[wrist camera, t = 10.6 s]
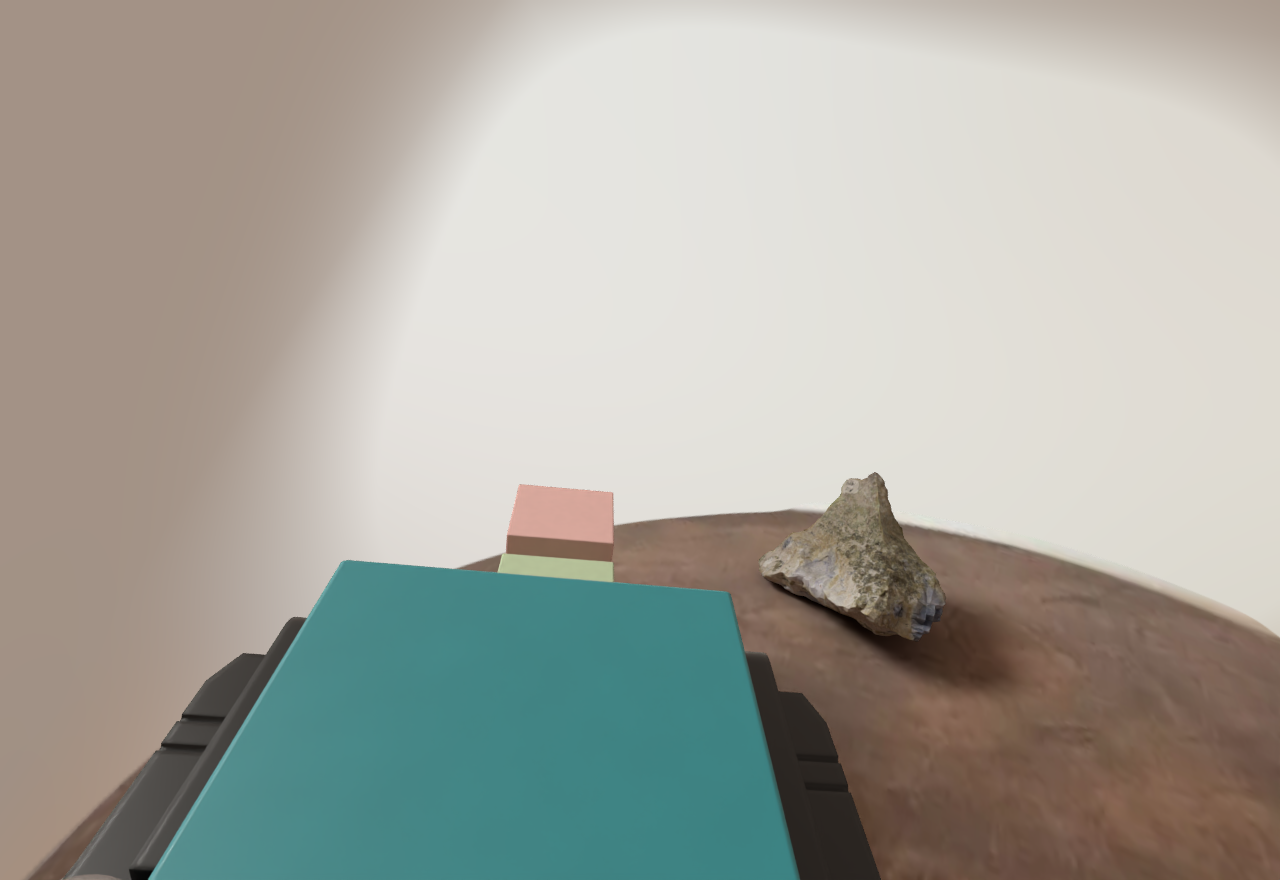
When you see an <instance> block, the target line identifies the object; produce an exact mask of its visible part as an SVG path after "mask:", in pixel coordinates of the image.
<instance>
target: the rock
mask: <svg viewBox="0 0 1280 880" xmlns="http://www.w3.org/2000/svg"><path fill="white" fill-rule="evenodd" d="M841 491H842V492H841V494H840V496H839V498H837V499H836V500H835V501H834V502H833V503H832V504H831V505H830V507H829V508H828V509H827V511H826V512H825V514H824V515H823V516H822V517H820V518H819V519H818V520H817V522H816V523H814V524H813V525H812V526H811V527H810V528H808V529H806V530H804V531H801V532H798V533H795V532H793V533H791V534H790V535H789V536H788V537H787V538H786V539H785V540H784V541H783V542H782V543H781V544H780V545H779V546H778V547H777V548H776V549H775V550H774V551H770V552H767V553H766V554H765V555H763V556H762V557H761V558H760V559H759V571H760V572H761V574H762V575H763V577H764V578H766V579H767V580H769V581H772V582H774V583H777V584H780V585H782V586H783V587H784V588H785V589H786V590H788V591H790V592H792V593H793V594H796V595H801V596H806V597H807V598H809V599H810V600H812V601H815V602H817V603H819V604H822V605H823V606H825V607H829V608H831V609H833V610H835V611H837V612H838V613H840V614H844V615H846V616H848V617H853V618H854V619H856V620H857V621H858V622H859V623H860V624H861V625H862V626H863V627H865V628H867V629H869V630H871V631H872V632H873V633H874V634H876V635H880V636H891V635H896V634H899V635H900V636H902V637H904V638H906V639H908V640H913V641H918V640H919V639H920V638H921V636H922V635H923V634H928V633H929V631H930V628H931V625H932V622H938V621H940V617H941V615H942V612H943V611H942V608H943V605H945V604H946V603H945V599H946V596H945V593H944V592H943V590H942V589H941V587H940V584H939V581H938V579H937V578H936V574H935V573H934V572H933V571H932V570H931V569H930V568H929V567H928V566H927V565H926V564H925V563H924V562H923V561H922V560H921V559H920V558H919V557H918V556H917V554H916V553H915V551H914V550H913V549H912V547H911V546H910V545H909V544H908V542H907V541H906V540H905V539H904V536H903V531H902V528H901V527H900V526H899V524H898V522H897V521H896V519H895V518H894V515H893V513H892V511H891V505H890V503H889V500H888V491H887V489H886V487H885V483H884V480H883V479H882V478H881V477H880V475H879V474H878V473H876V472H874V473H873V474H871V475H869V476H868V478H866V479H863V480H860V479H852V478H851V479H849V480H846V482H845V483H844V484H843V486H842V489H841Z"/></svg>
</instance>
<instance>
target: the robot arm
mask: <svg viewBox="0 0 1280 880" xmlns="http://www.w3.org/2000/svg"><path fill="white" fill-rule="evenodd" d="M306 619H307V618H302V617H293V618H291V619H290V620H289V621H288V622H287V623H286V624H285V626H284V627H283V629H282V630H281V632H280V633H279V635H278V637H277V638H276V640H275V641H274V643H273V645H272V646H271V648H270V649H269V651H268V652H267V654H266V655H261V654H246V653H243V654H242V655H240V656H239V657H237V658H236V659H234V660H233V661H232V662H230V663H229V664H228V665H227V666H225V667H224V668H222V669H221V670H220V671H218V672H217V673H216V674H214V675H213V676H212V677H210V678H209V679H208V680H206V681H205V683H204V684H203V686H202V687H201V688H200V690H199V691H198V693H197V694H196V695H195V697H194V698H193V700H192V701H191V703H190V704H189V705H188V707H187V708H186V710H185V711H184V712H183V714H182V718H181V720H180V721H177V722H176V723H175V725H174V726H173V727H172V729H171V730H170V732H169V733H168V734H167V736H166V737H165V739H164V740H163V742H162V743H161V748H160V750H159V751H155V753H154V754H153V755H152V757H151V758H150V760H149V761H148V762H147V764H146V765H145V767H144V768H143V769H142V771H141V772H140V774H139V775H138V776H137V778H136V779H135V780H134V782H133V783H132V785H131V786H130V787H129V789H128V790H127V792H126V793H125V794H124V796H123V797H122V799H121V800H120V801H119V803H118V804H117V806H116V807H115V808H114V810H113V811H112V813H111V814H110V815H109V817H108V818H107V820H106V821H105V822H104V824H103V825H102V827H101V828H100V829H99V831H98V832H97V834H96V835H95V836H94V838H93V839H92V840H91V842H90V843H89V845H88V846H87V847H86V849H85V850H84V852H83V853H82V854H81V856H80V857H79V859H78V860H77V861H76V863H75V864H74V866H73V867H72V868H71V869H70V870H69V872H68V873H67V874H66V875H65V877H64V878H63V879H61V880H148V879H149V877H150V875H151V874H152V872H153V870H154V869H155V867H156V865H157V864H158V862H159V861H160V859H161V857H162V856H163V854H164V852H165V851H166V849H167V847H168V846H169V844H170V843H171V841H172V839H173V838H174V836H175V834H176V833H177V831H178V829H179V828H180V826H181V824H182V823H183V821H184V820H185V818H186V816H187V815H188V813H189V811H190V810H191V808H192V806H193V805H194V803H195V801H196V800H197V798H198V797H199V795H200V793H201V792H202V790H203V788H204V787H205V785H206V783H207V782H208V780H209V778H210V777H211V775H212V774H213V772H214V770H215V769H216V767H217V765H218V764H219V762H220V760H221V759H222V757H223V755H224V754H225V752H226V751H227V749H228V747H229V746H230V744H231V742H232V741H233V739H234V737H235V736H236V734H237V732H238V731H239V729H240V728H241V726H242V724H243V723H244V721H245V719H246V718H247V716H248V714H249V713H250V711H251V709H252V708H253V706H254V705H255V703H256V701H257V700H258V698H259V696H260V695H261V693H262V691H263V690H264V688H265V686H266V685H267V683H268V682H269V680H270V678H271V677H272V675H273V673H274V672H275V670H276V668H277V667H278V665H279V663H280V662H281V660H282V659H283V657H284V655H285V654H286V652H287V650H288V649H289V647H290V645H291V644H292V642H293V640H294V639H295V637H296V636H297V634H298V632H299V631H300V629H301V627H302V626H303V624H304V622H305V621H306ZM745 655H746V659H747V663H748V667H749V671H750V675H751V680H752V684H753V688H754V692H755V696H756V700H757V704H758V708H759V712H760V717H761V721H762V725H763V729H764V733H765V737H766V741H767V745H768V749H769V753H770V758H771V762H772V766H773V770H774V774H775V778H776V782H777V786H778V790H779V794H780V799H781V803H782V807H783V811H784V815H785V819H786V823H787V827H788V831H789V836H790V840H791V844H792V848H793V852H794V856H795V860H796V864H797V868H798V872H799V877H800V880H881V878H880V875H879V872H878V870H877V867H876V864H875V861H874V858H873V855H872V852H871V849H870V847H869V844H868V841H867V838H866V835H865V832H864V829H863V827H862V824H861V821H860V818H859V815H858V812H857V809H856V806H855V804H854V801H853V798H852V795H851V793H849V792H848V784H847V781H846V778H845V775H844V772H843V769H842V766H841V764H839V763H838V755H837V752H836V749H835V746H834V743H833V740H832V738H831V735H830V732H829V729H828V726H827V723H826V722H825V721H824V719H823V718H822V717H821V716H820V715H819V713H818V712H817V711H816V710H815V709H814V707H813V706H812V705H811V704H810V702H809V701H808V700H807V699H806V698H805V696H804V695H803V694H802V693H791V692H778V689H777V685H776V682H775V678H774V675H773V671H772V668H771V664H770V661H769V658H768V656H767V655H766V653H761V652H748V651H745Z"/></svg>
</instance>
